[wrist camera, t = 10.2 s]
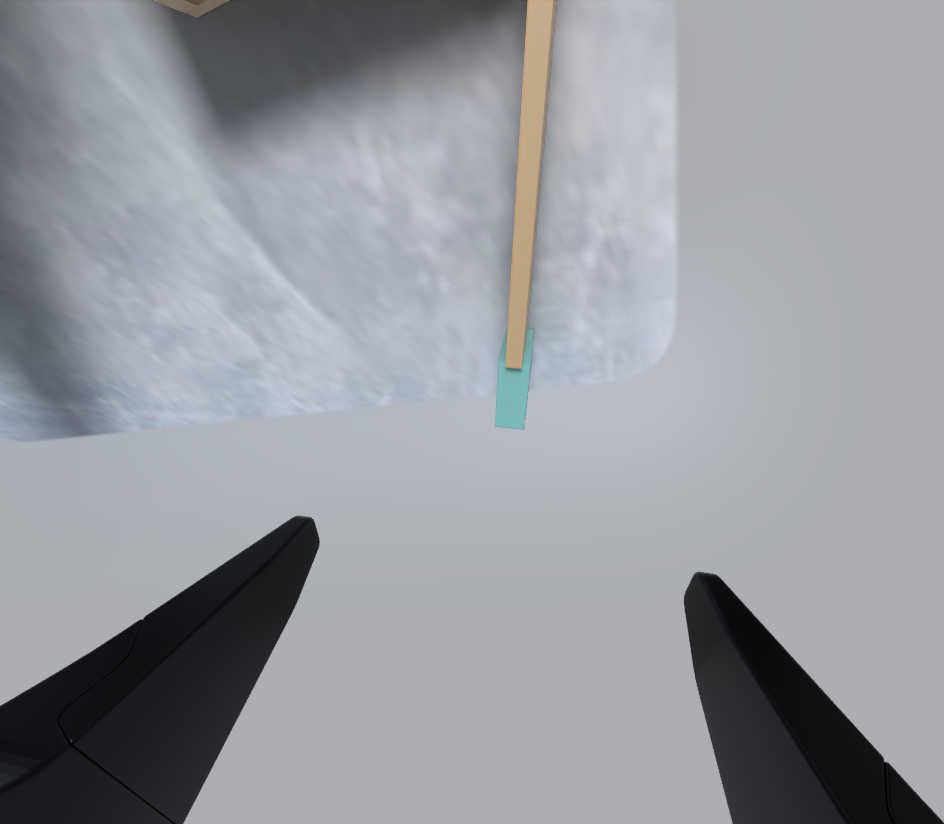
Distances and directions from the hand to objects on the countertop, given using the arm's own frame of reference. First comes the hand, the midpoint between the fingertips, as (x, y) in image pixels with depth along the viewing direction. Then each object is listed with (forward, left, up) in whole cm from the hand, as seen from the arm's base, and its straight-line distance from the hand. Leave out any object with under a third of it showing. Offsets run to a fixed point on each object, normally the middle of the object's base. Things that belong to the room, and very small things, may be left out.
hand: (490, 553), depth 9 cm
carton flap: (+2, +7, -12) cm, 13 cm away
